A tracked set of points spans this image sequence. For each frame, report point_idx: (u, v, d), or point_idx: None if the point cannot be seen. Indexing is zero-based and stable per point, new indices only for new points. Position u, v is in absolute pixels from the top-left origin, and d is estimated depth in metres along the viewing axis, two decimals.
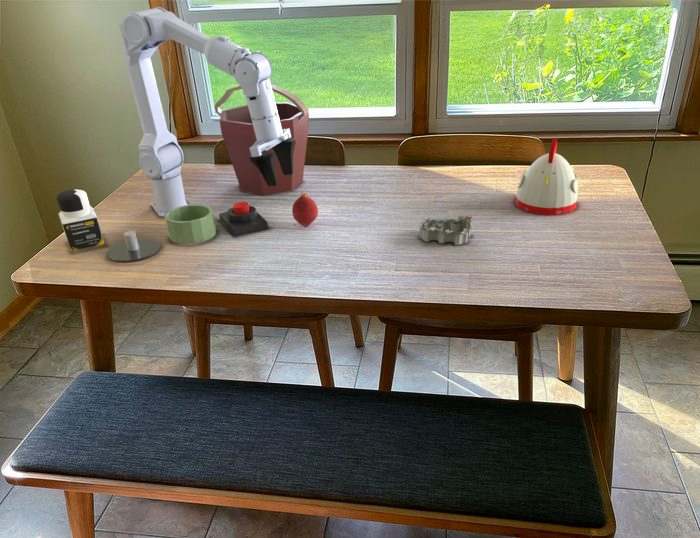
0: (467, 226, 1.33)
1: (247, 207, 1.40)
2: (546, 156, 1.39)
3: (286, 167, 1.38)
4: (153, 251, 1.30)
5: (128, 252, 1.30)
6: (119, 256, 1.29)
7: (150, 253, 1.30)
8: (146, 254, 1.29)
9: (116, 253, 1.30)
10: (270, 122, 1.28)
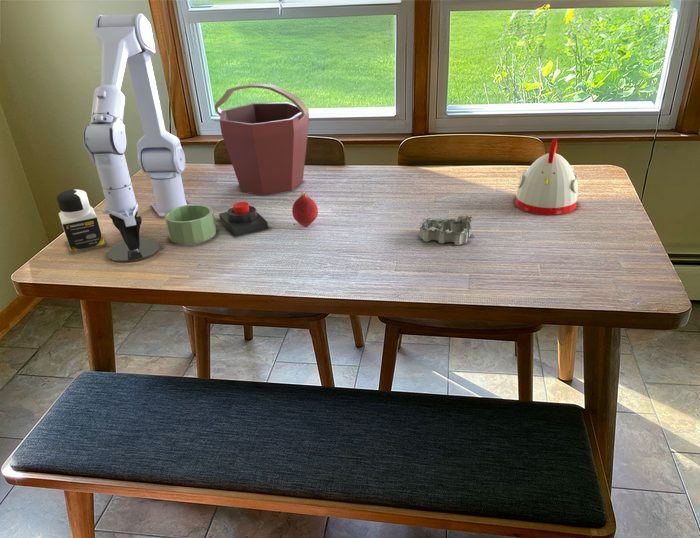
0: (467, 226, 1.33)
1: (247, 207, 1.40)
2: (546, 156, 1.39)
3: None
4: (153, 251, 1.30)
5: (128, 252, 1.30)
6: (119, 256, 1.29)
7: (150, 253, 1.30)
8: (146, 254, 1.29)
9: (117, 253, 1.30)
10: None
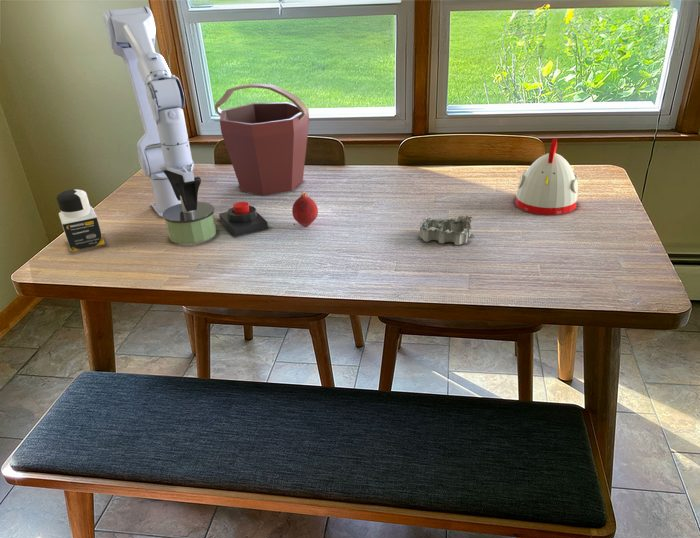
0: (467, 226, 1.33)
1: (247, 207, 1.40)
2: (546, 156, 1.39)
3: None
4: (208, 213, 1.34)
5: (184, 214, 1.34)
6: (176, 217, 1.33)
7: (205, 214, 1.33)
8: (202, 215, 1.33)
9: (172, 214, 1.34)
10: None
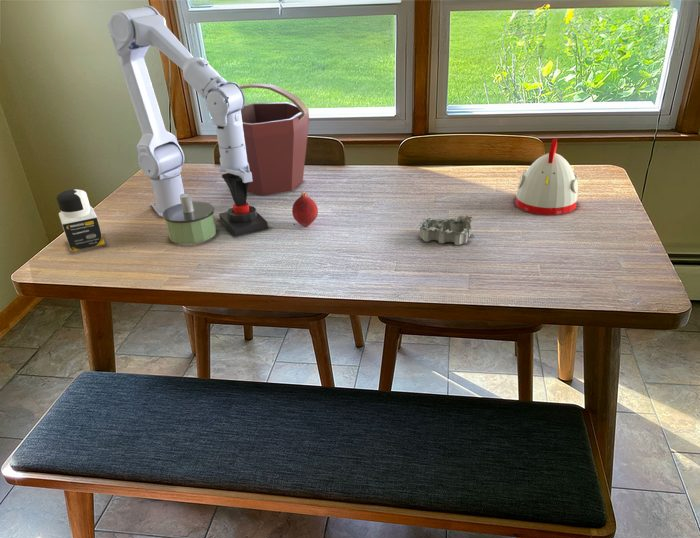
0: (467, 226, 1.33)
1: (247, 207, 1.40)
2: (546, 156, 1.39)
3: None
4: (208, 213, 1.34)
5: (184, 214, 1.34)
6: (176, 217, 1.33)
7: (205, 214, 1.33)
8: (202, 215, 1.33)
9: (172, 214, 1.34)
10: None
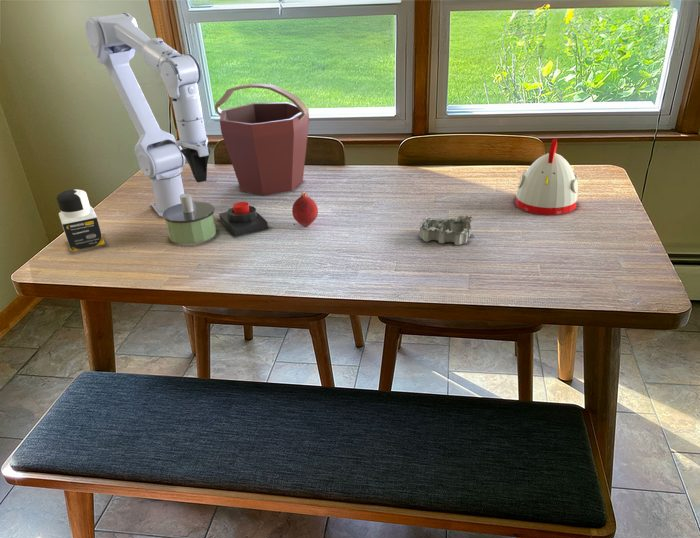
0: (467, 226, 1.33)
1: (247, 207, 1.40)
2: (546, 156, 1.39)
3: None
4: (208, 213, 1.34)
5: (184, 214, 1.34)
6: (176, 217, 1.33)
7: (205, 214, 1.33)
8: (202, 215, 1.33)
9: (172, 214, 1.34)
10: None
